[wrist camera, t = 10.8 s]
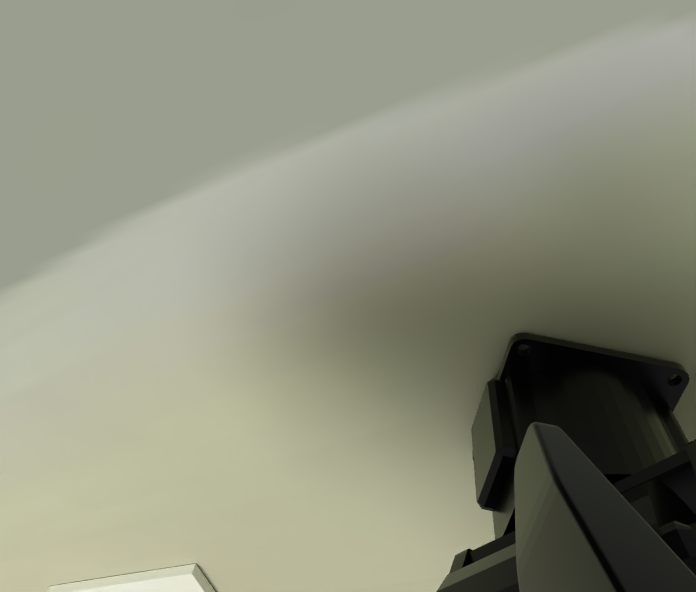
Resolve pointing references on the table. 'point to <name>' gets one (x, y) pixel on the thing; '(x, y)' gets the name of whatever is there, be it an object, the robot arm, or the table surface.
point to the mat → (145, 582)
